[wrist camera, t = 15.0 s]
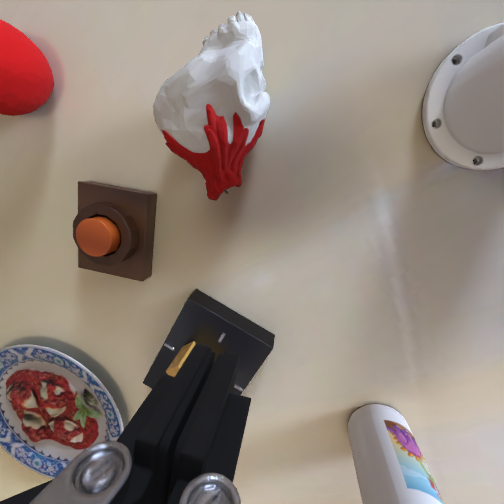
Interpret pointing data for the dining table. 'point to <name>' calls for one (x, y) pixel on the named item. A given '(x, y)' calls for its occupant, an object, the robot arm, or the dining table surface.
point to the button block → (129, 224)
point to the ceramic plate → (51, 408)
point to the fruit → (22, 73)
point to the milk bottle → (389, 459)
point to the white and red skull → (217, 104)
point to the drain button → (98, 236)
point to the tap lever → (180, 359)
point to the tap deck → (214, 338)
